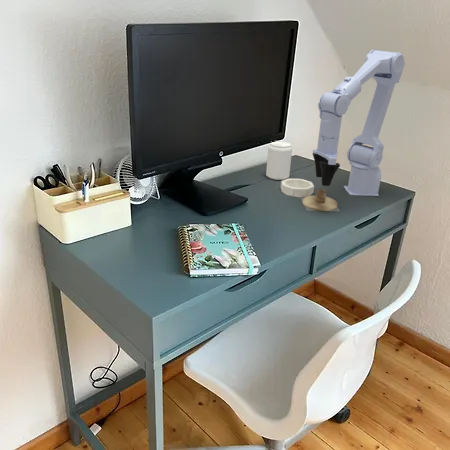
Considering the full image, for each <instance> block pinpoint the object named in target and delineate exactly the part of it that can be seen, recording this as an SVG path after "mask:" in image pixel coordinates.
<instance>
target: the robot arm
mask: <svg viewBox="0 0 450 450" xmlns="http://www.w3.org/2000/svg"><path fill="white" fill-rule="evenodd" d="M364 60H365V61H364V63H363V64H362V66H361V67H360V68H359V69H358V70H357V71H356V72H355V73H354V75H353V76H345V77H344V78H343V80H342V81H341V82H340V83H339V84H338V85H337V86H336V87H335V88H333V89H332V91H328V92H325V93H323V95H321V97H320V98H319V101H318V104H317V107H318V110H319V118H320V124H319V133H318V137H317V138H318V140H317V146H316V147H317V148H316V149H312V156H313V160H314V166H315V168H314V169H315V175H316V178H321V185H322V186H323V187H329V186H331V184H332V182H333V179H334V176H335V174H336V172H337V171H338V170H339V168H341V167H340V166H341V164H340V163H339V162H337V156H338V153H339V152H338V148H339V140H340V133H341V126H342V120H343V115H345V114H347V111H348V109H349V106H350V105H351V102H352V101H353V99H355V98H356V97H357V96H358V95H359V94H360V93H361V91H362V85H363V84H365V83H366V82H368V81H369V80H370V79H371V78H372V80H373V79H374V81H375V82H376V87H375V90H374V94H373V96H372V97H373V98H372V100H371V104H370V107H369V110H368V113H367V116H366V119H365V123H364V126H363V129H362V132H361V134H360V135H357V136H355V137H353V139H352V142H351V144H350V146H349V147H348V149H347V152H346V153H347V154H346V157H347V161H349V165H350V172H349V178H348V184H347V185H343V188H344V189H345V191H346V192H347V193H348V195H350V196H371V197H373V196H375V197H379V189H380V186H381V179H382V170H381V167H380V166H379V165H381V162H382V159H383V154H384V153H383V152H384V148H385V146H384V144H383V143H382V141H381V140H380V138H379V136H380V133H381V130H382V128H383V127H382V126H383V124H384V121H385V118H386V114H387V111H388V108H389V104H390V102H391V99H392V96H393V93H394V90H395V87H396V84H398V83H399V82H400V80H401V76H402V75H403V71H404V67H405V57H404V54H403V52H402V53H401V52H400V51H399V52H396V51H395V52H394V51H386V50H385V51H384V50H378V49H371V50H370V51H369V52H368V53H367V54H366V55H365V59H364ZM371 146H372V147H371Z"/></svg>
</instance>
